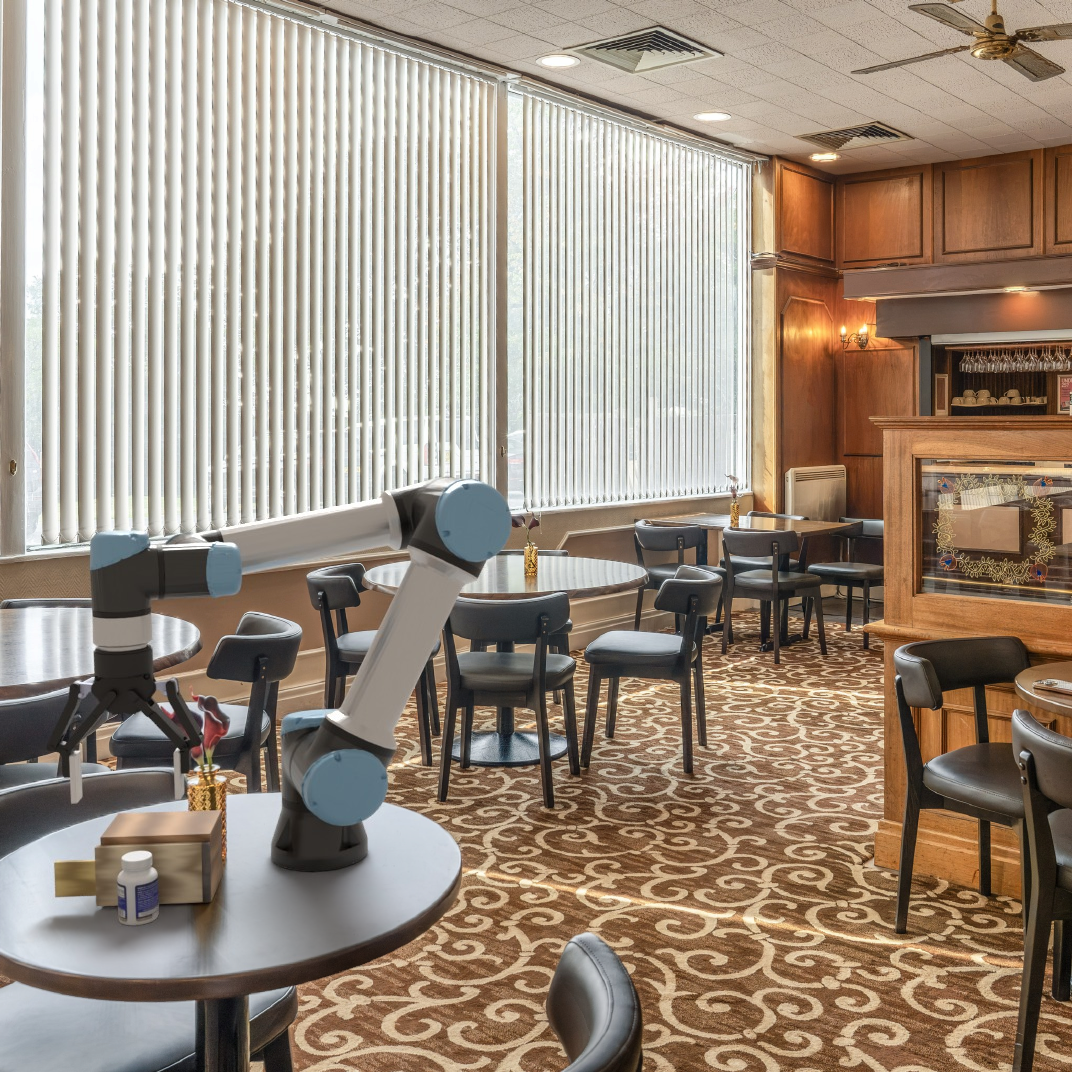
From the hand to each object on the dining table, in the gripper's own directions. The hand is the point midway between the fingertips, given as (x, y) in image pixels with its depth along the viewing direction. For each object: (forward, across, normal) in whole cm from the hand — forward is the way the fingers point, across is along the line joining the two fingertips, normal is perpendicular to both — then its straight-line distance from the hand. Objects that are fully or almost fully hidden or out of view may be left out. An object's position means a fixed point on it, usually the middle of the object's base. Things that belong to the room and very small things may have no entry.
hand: (128, 798), depth 153 cm
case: (+17, -2, -9) cm, 19 cm away
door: (+16, +1, -3) cm, 17 cm away
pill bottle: (+17, -1, 0) cm, 17 cm away
